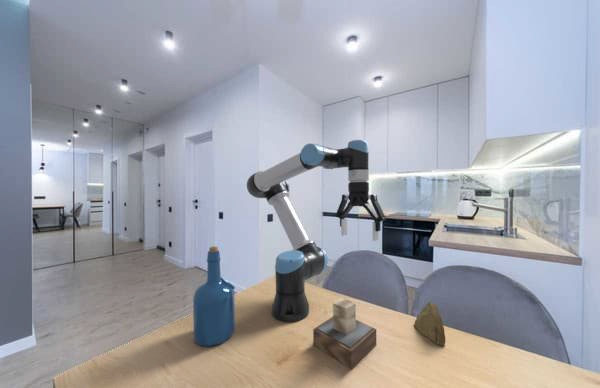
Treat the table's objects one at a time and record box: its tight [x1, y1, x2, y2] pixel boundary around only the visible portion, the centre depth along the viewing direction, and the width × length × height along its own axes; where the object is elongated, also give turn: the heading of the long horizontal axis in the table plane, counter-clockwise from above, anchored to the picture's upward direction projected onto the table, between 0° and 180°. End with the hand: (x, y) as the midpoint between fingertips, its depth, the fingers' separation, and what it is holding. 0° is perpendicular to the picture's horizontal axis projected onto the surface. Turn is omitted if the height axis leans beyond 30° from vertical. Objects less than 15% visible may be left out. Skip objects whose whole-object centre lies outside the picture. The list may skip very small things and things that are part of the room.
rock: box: [413, 301, 446, 346], centre depth 75 cm, size 11×9×10 cm
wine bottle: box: [192, 246, 236, 347], centre depth 77 cm, size 14×13×30 cm
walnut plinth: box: [312, 316, 377, 370], centre depth 71 cm, size 14×14×5 cm
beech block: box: [332, 297, 357, 335], centre depth 71 cm, size 5×5×8 cm
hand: (359, 237), depth 86 cm, fingers open, 13 cm apart
